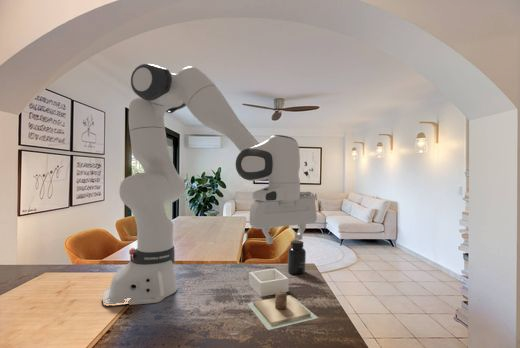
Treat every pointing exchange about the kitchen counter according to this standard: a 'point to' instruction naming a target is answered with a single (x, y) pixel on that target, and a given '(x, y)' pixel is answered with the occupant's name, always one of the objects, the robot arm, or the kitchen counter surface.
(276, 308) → the oak lid
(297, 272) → the supplement bottle
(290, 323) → the sage mat
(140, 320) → the kitchen counter surface
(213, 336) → the kitchen counter surface
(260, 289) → the white open box
